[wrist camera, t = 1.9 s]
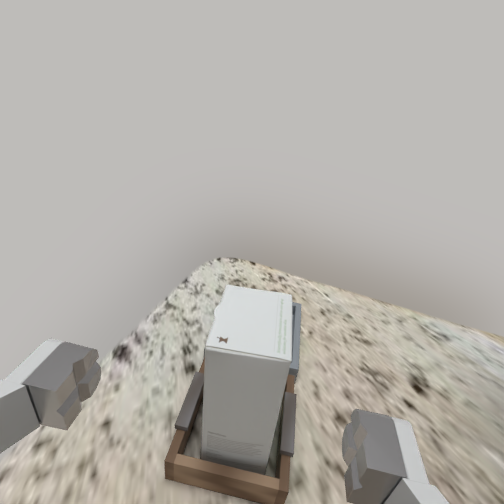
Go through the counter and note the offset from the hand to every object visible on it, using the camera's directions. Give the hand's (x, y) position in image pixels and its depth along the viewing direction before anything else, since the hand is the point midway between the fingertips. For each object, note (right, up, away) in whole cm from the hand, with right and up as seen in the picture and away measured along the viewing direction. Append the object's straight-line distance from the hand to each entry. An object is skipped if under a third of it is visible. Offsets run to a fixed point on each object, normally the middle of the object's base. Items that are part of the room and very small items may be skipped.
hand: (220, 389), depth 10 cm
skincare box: (-1, -14, +23) cm, 27 cm away
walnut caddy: (-1, -14, +23) cm, 27 cm away
